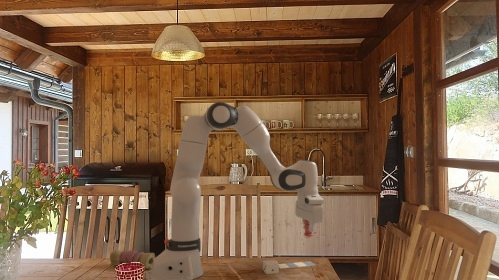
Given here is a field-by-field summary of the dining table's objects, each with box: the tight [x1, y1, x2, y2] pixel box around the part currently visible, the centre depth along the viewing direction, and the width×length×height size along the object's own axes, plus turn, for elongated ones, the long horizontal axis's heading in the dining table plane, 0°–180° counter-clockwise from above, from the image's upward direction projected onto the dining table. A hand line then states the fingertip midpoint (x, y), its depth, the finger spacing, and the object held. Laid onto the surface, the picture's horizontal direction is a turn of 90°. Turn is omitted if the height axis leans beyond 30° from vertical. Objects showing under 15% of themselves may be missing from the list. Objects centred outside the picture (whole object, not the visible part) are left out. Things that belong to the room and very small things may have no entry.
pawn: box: [303, 220, 314, 237], centre depth 163 cm, size 4×4×7 cm
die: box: [262, 259, 280, 275], centre depth 152 cm, size 6×5×5 cm
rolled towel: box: [109, 249, 156, 269], centre depth 164 cm, size 8×8×20 cm
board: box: [279, 260, 316, 270], centre depth 161 cm, size 16×6×1 cm, turn 106°
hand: (308, 230), depth 163 cm, fingers closed on pawn, 3 cm apart
